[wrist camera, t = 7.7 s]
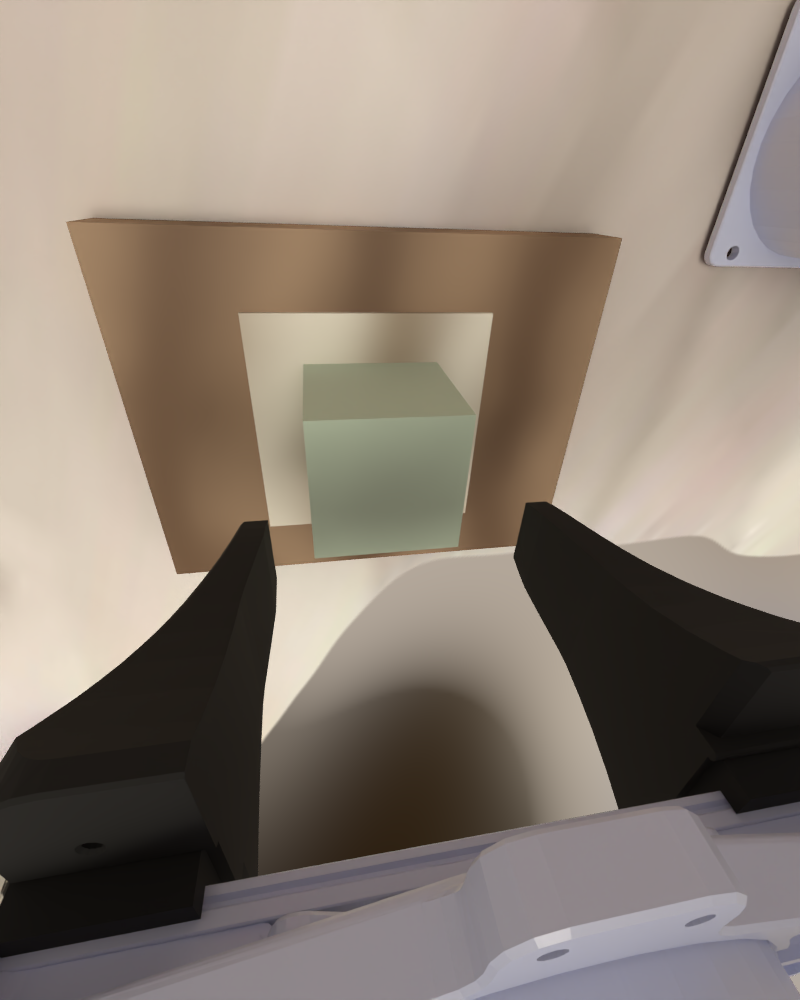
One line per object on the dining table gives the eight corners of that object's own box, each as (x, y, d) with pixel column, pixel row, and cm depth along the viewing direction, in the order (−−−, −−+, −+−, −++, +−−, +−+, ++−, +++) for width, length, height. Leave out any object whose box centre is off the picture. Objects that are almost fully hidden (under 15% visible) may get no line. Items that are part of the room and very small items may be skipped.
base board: (593, 233, 18) (625, 238, 16) (526, 521, 26) (542, 546, 24) (91, 218, 15) (63, 222, 13) (186, 546, 23) (176, 576, 21)
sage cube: (436, 361, 18) (476, 415, 14) (427, 474, 20) (458, 546, 16) (303, 364, 17) (302, 421, 13) (312, 481, 20) (314, 558, 16)
